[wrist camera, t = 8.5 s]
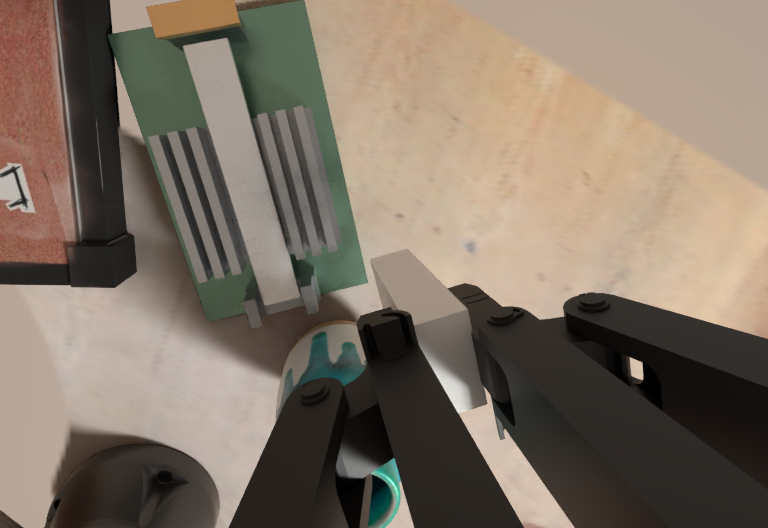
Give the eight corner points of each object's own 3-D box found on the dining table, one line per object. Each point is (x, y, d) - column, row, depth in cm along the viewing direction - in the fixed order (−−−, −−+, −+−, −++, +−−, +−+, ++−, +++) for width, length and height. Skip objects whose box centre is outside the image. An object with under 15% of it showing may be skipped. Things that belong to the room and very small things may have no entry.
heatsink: (210, 317, 41) (190, 351, 34) (113, 37, 34) (64, 11, 27) (366, 279, 42) (377, 305, 36) (304, 3, 35) (302, -30, 29)
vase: (291, 298, 42) (276, 419, 23) (399, 312, 44) (462, 432, 25) (276, 397, 44) (252, 577, 26) (379, 405, 46) (424, 577, 28)
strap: (265, 302, 37) (264, 305, 36) (185, 47, 30) (182, 46, 30) (300, 293, 37) (300, 297, 37) (228, 39, 31) (226, 37, 30)
